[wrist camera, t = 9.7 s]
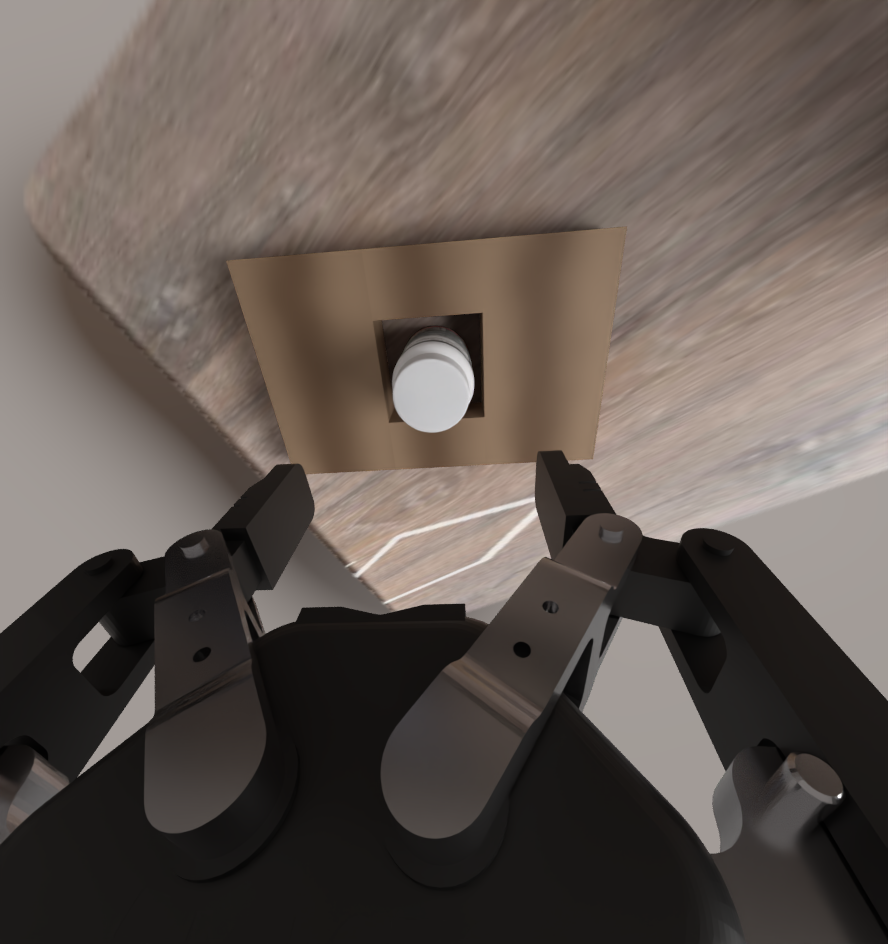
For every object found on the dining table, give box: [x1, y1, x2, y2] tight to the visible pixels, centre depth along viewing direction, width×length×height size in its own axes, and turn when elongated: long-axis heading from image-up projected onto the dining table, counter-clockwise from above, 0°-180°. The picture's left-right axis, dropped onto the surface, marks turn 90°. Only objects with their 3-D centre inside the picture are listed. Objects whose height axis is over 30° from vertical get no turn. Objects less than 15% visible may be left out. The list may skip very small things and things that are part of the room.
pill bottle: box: [392, 326, 474, 433], centre depth 23 cm, size 5×5×8 cm
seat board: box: [226, 227, 627, 474], centre depth 25 cm, size 22×14×3 cm, turn 94°
